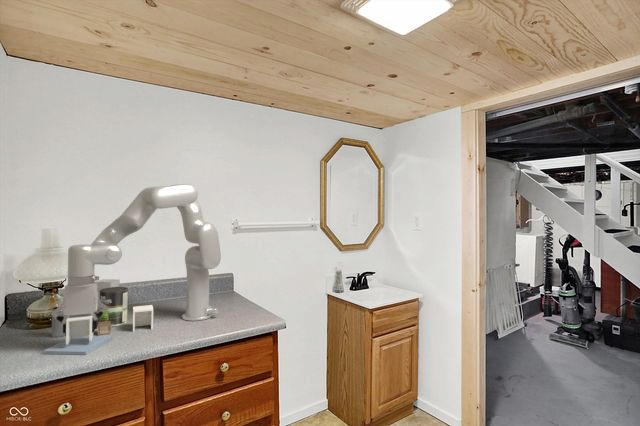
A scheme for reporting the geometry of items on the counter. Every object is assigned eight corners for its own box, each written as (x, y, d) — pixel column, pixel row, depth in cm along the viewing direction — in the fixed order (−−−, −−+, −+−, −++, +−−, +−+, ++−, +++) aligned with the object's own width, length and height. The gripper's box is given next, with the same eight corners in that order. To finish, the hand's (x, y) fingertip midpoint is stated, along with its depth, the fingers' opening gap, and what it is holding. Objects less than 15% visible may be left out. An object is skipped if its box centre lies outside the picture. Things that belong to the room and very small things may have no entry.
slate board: (112, 339, 125) (112, 336, 125) (85, 354, 111) (85, 351, 111) (74, 338, 125) (74, 335, 125) (42, 353, 111) (42, 350, 111)
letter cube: (98, 332, 132) (98, 322, 132) (110, 331, 133) (110, 320, 134) (97, 336, 128) (97, 325, 128) (110, 334, 130) (110, 323, 130)
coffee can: (111, 328, 136) (111, 292, 136) (92, 325, 140) (93, 290, 140) (133, 321, 146) (134, 287, 146) (115, 318, 149) (116, 285, 150)
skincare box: (120, 313, 157) (121, 279, 157) (110, 317, 150) (110, 282, 150) (103, 312, 158) (103, 278, 158) (92, 316, 151) (93, 281, 151)
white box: (69, 337, 119) (69, 314, 119) (93, 334, 123) (93, 312, 123) (65, 344, 113) (66, 320, 113) (91, 340, 117) (91, 317, 117)
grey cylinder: (54, 338, 125) (55, 309, 125) (49, 335, 127) (49, 307, 127) (69, 334, 129) (69, 307, 129) (63, 332, 131) (64, 305, 131)
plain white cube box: (132, 326, 139) (133, 306, 139) (152, 324, 142) (152, 304, 142) (132, 331, 133) (133, 311, 133) (152, 329, 136) (153, 308, 136)
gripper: (111, 277, 125) (110, 326, 125) (51, 281, 117) (50, 333, 117) (110, 280, 119) (109, 332, 119) (46, 285, 111) (45, 340, 110)
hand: (80, 332), depth 118 cm, fingers closed on white box, 6 cm apart
